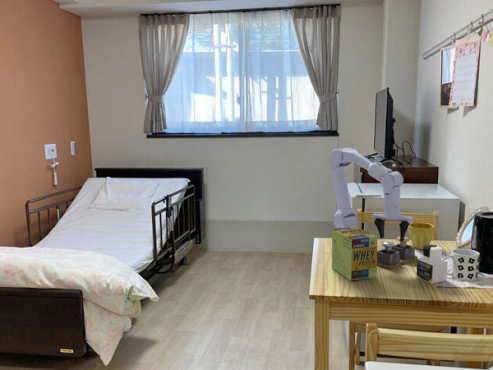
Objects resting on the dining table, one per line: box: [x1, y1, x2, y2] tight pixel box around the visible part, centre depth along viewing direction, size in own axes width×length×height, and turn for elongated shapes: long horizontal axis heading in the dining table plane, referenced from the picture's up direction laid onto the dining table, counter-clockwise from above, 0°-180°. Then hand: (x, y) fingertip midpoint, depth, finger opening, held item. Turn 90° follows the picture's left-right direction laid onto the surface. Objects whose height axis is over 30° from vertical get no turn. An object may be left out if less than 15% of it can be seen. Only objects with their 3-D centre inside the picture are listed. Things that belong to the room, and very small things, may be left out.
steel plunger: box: [381, 240, 395, 254], centre depth 166 cm, size 4×4×4 cm
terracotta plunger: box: [396, 236, 410, 249], centre depth 172 cm, size 4×4×4 cm
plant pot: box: [407, 221, 435, 250], centre depth 185 cm, size 10×10×10 cm
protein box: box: [331, 226, 378, 282], centre depth 158 cm, size 10×15×16 cm
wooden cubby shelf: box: [377, 242, 418, 270], centre depth 169 cm, size 18×8×5 cm, turn 126°
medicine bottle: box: [416, 244, 448, 285], centre depth 150 cm, size 7×7×12 cm
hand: (392, 239), depth 163 cm, fingers open, 7 cm apart
